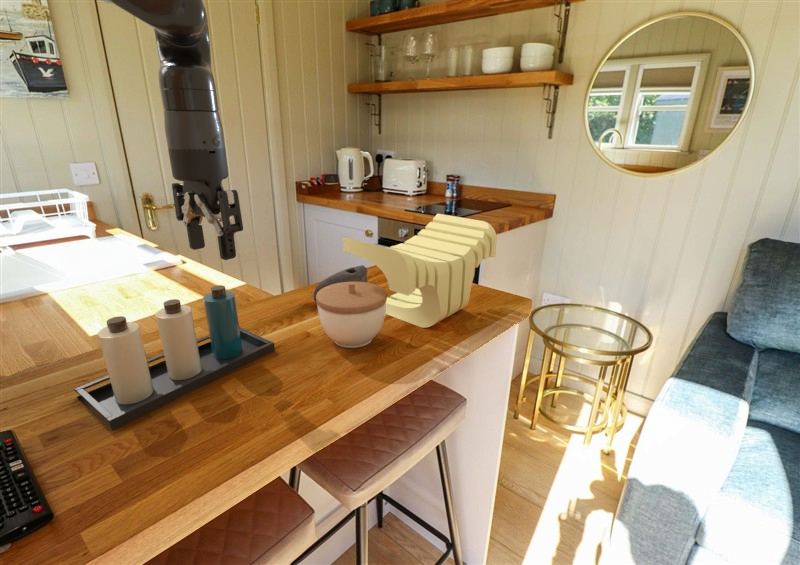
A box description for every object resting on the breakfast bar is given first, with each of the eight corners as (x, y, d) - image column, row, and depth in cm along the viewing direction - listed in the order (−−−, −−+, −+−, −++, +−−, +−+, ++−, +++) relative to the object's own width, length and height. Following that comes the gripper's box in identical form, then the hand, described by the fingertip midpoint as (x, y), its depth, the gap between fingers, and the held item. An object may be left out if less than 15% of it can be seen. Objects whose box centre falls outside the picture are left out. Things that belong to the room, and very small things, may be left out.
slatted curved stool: (407, 349, 75) (409, 253, 69) (346, 323, 85) (343, 236, 79) (491, 300, 97) (498, 223, 90) (434, 283, 106) (437, 213, 100)
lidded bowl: (392, 352, 74) (392, 294, 70) (319, 359, 72) (315, 299, 68) (381, 321, 86) (380, 270, 82) (318, 326, 83) (314, 273, 80)
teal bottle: (206, 354, 72) (195, 288, 68) (232, 343, 76) (222, 280, 71) (223, 363, 69) (212, 295, 65) (248, 351, 73) (239, 286, 69)
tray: (77, 401, 61) (74, 388, 60) (235, 334, 80) (234, 324, 79) (112, 434, 54) (109, 421, 53) (275, 353, 74) (274, 342, 73)
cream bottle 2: (162, 373, 66) (147, 303, 62) (191, 360, 70) (179, 293, 66) (178, 384, 64) (163, 311, 59) (208, 370, 67) (195, 300, 63)
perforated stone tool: (321, 313, 89) (319, 282, 87) (307, 306, 93) (305, 276, 90) (375, 295, 99) (375, 267, 96) (361, 289, 102) (360, 262, 100)
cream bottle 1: (109, 396, 61) (88, 321, 56) (144, 381, 64) (127, 309, 60) (124, 409, 58) (103, 331, 54) (160, 392, 62) (143, 318, 57)
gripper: (145, 144, 62) (165, 250, 67) (199, 148, 54) (216, 268, 60) (194, 142, 67) (209, 241, 73) (249, 146, 60) (261, 256, 65)
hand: (212, 253), depth 66 cm, fingers open, 8 cm apart
